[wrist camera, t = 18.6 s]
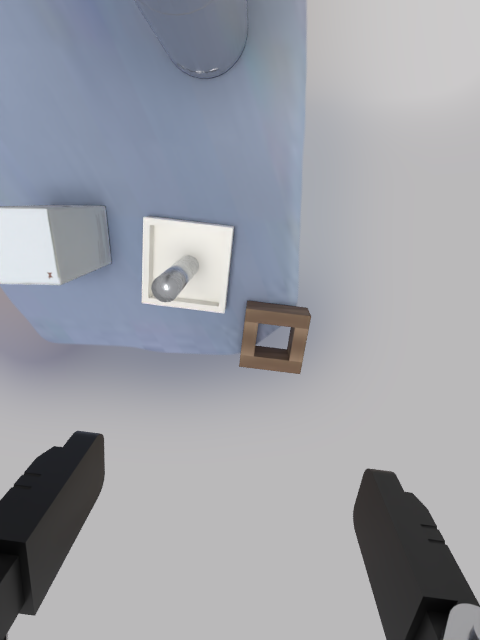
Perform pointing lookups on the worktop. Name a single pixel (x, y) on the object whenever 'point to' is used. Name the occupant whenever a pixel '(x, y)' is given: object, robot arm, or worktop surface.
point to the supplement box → (52, 243)
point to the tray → (195, 240)
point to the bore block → (273, 356)
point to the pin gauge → (174, 279)
